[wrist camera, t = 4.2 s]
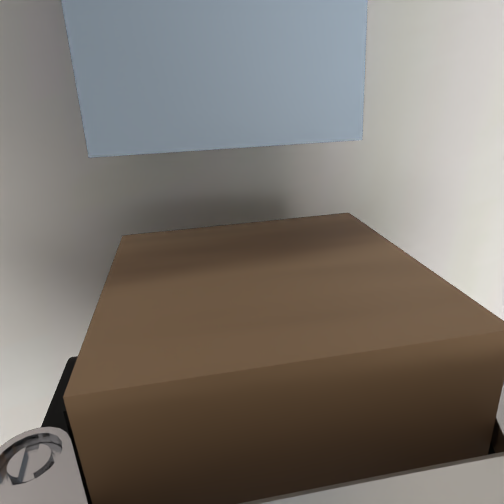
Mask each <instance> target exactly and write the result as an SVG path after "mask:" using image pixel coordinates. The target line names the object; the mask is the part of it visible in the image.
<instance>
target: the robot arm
mask: <svg viewBox="0 0 504 504" xmlns="http://www.w3.org/2000/svg"><path fill="white" fill-rule="evenodd" d="M77 358H78V356H77V357H71V358H69V360H68V362H67V364H66V366H65V369H64V371H63V374H62V376H61V379H60V381H59V384H58V386H57V389H56V391H55V394H54V396H53V399H52V401H51V404H50V406H49V408H48V411H47V413H46V416H45V418H44V421H43V423H42V426H41V428H36V429H32V430H29V431H26V432H24V433H21V434H19V435H17V436H15V437H13V438H12V439H10V440H9V441H7V442H6V443H5V444H3V445H2V446H0V504H92V501H91V497H90V494H89V490H88V486H87V483H86V479H85V476H84V472H83V468H82V465H81V461H80V457H79V454H78V450H77V447H76V443H75V439H74V436H73V432H72V428H71V425H70V421H69V418H68V414H67V410H66V407H65V403H64V399H63V396H64V393H65V390H66V388H67V385H68V382H69V379H70V377H71V374H72V371H73V369H74V366H75V363H76V360H77ZM239 504H504V382H503V387H502V391H501V396H500V401H499V405H498V410H497V414H496V419H495V424H494V428H493V433H492V438H491V442H490V447H489V451H488V455H484V456H479V457H474V458H469V459H463V460H458V461H453V462H448V463H442V464H437V465H432V466H427V467H421V468H416V469H411V470H406V471H401V472H396V473H390V474H385V475H380V476H375V477H370V478H365V479H360V480H355V481H350V482H345V483H339V484H334V485H329V486H324V487H319V488H314V489H309V490H304V491H299V492H294V493H289V494H284V495H279V496H274V497H269V498H264V499H259V500H254V501H249V502H244V503H239Z"/></svg>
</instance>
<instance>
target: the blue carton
mask: <svg viewBox="0 0 504 504" xmlns="http://www.w3.org/2000/svg"><path fill="white" fill-rule="evenodd" d="M61 2H62V8H63V14H64V19H65V25H66V31H67V37H68V42H69V48H70V54H71V59H72V65H73V71H74V77H75V82H76V88H77V94H78V99H79V105H80V111H81V116H82V122H83V128H84V134H85V139H86V145H87V151H88V156H89V158H93V157H108V156H124V155H139V154H155V153H170V152H185V151H201V150H216V149H231V148H247V147H262V146H278V145H293V144H308V143H324V142H339V141H354V140H362V134H363V108H364V82H365V55H366V29H367V3H368V0H61Z"/></svg>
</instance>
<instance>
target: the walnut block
mask: <svg viewBox="0 0 504 504" xmlns="http://www.w3.org/2000/svg"><path fill="white" fill-rule="evenodd" d="M503 382H504V321H503V320H501V319H500V318H499V317H497V316H496V315H494V314H493V313H491V312H490V311H489V310H487V309H486V308H484V307H483V306H481V305H480V304H479V303H477V302H476V301H474V300H473V299H471V298H470V297H469V296H467V295H466V294H464V293H463V292H461V291H460V290H459V289H457V288H456V287H454V286H453V285H451V284H450V283H449V282H447V281H446V280H444V279H443V278H441V277H440V276H438V275H437V274H436V273H434V272H433V271H431V270H430V269H428V268H427V267H426V266H424V265H423V264H421V263H420V262H418V261H417V260H416V259H414V258H413V257H411V256H410V255H408V254H407V253H406V252H404V251H403V250H401V249H400V248H398V247H397V246H396V245H394V244H393V243H391V242H390V241H388V240H387V239H386V238H384V237H383V236H381V235H380V234H378V233H377V232H376V231H374V230H373V229H371V228H370V227H368V226H367V225H365V224H364V223H363V222H361V221H360V220H358V219H357V218H355V217H354V216H353V215H351V214H350V213H341V214H331V215H321V216H311V217H302V218H292V219H282V220H272V221H262V222H252V223H242V224H232V225H222V226H212V227H202V228H192V229H182V230H172V231H163V232H153V233H143V234H133V235H123V236H122V238H121V241H120V244H119V247H118V249H117V252H116V255H115V257H114V260H113V263H112V266H111V268H110V271H109V274H108V276H107V279H106V282H105V285H104V287H103V290H102V293H101V295H100V298H99V301H98V304H97V306H96V309H95V312H94V314H93V317H92V320H91V322H90V325H89V328H88V331H87V333H86V336H85V339H84V341H83V344H82V347H81V350H80V352H79V355H78V358H77V360H76V363H75V366H74V369H73V371H72V374H71V377H70V379H69V382H68V385H67V388H66V390H65V393H64V396H63V399H64V403H65V407H66V410H67V414H68V418H69V421H70V425H71V428H72V432H73V436H74V439H75V443H76V447H77V450H78V454H79V457H80V461H81V465H82V468H83V472H84V476H85V479H86V483H87V486H88V490H89V494H90V497H91V501H92V504H239V503H244V502H249V501H254V500H259V499H264V498H269V497H274V496H279V495H284V494H289V493H294V492H299V491H304V490H309V489H314V488H319V487H324V486H329V485H334V484H339V483H345V482H350V481H355V480H360V479H365V478H370V477H375V476H380V475H385V474H390V473H396V472H401V471H406V470H411V469H416V468H421V467H427V466H432V465H437V464H442V463H448V462H453V461H458V460H463V459H469V458H474V457H479V456H484V455H488V451H489V447H490V442H491V438H492V433H493V428H494V424H495V419H496V414H497V410H498V405H499V401H500V396H501V391H502V387H503Z"/></svg>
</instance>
